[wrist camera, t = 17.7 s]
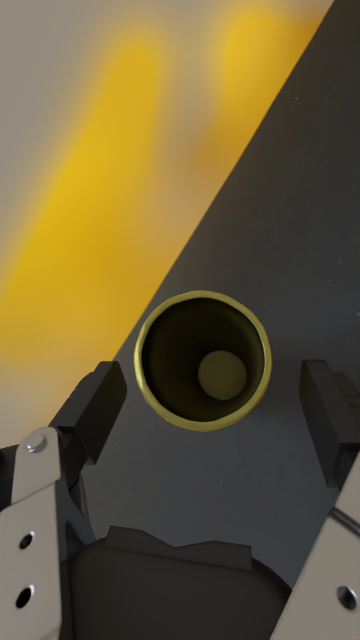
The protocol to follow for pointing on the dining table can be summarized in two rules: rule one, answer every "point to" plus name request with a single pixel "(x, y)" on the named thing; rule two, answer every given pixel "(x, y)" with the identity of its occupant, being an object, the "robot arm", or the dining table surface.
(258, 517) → the dining table surface
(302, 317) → the dining table surface
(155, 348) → the vase
